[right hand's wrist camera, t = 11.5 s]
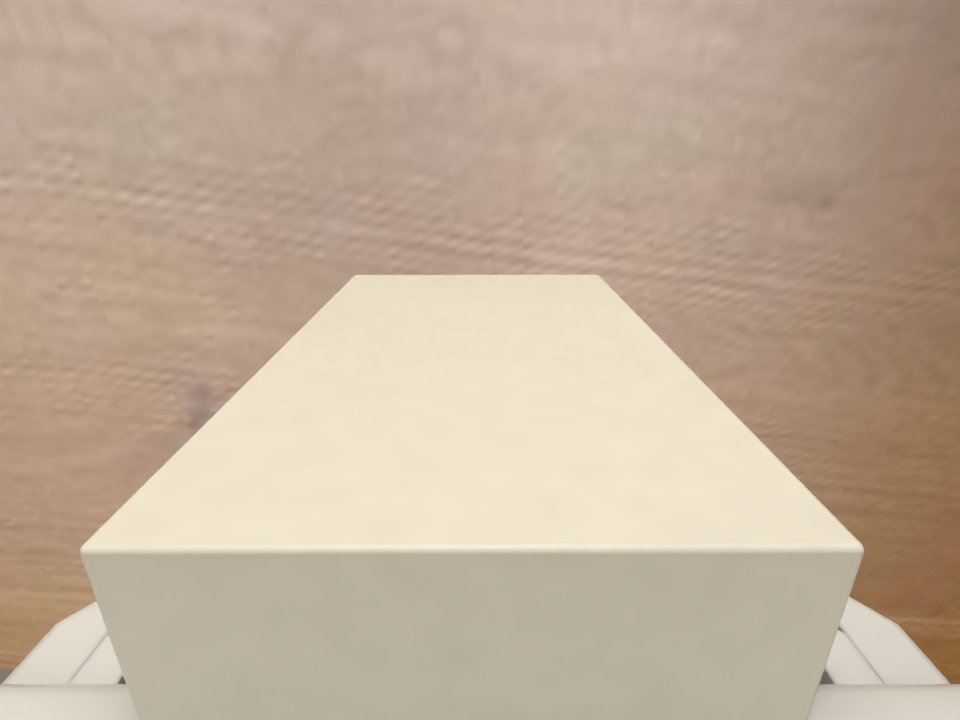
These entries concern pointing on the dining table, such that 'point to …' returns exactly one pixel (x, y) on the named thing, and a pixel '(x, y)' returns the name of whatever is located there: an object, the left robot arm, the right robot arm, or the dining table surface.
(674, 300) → the dining table surface
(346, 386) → the box
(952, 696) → the right robot arm
